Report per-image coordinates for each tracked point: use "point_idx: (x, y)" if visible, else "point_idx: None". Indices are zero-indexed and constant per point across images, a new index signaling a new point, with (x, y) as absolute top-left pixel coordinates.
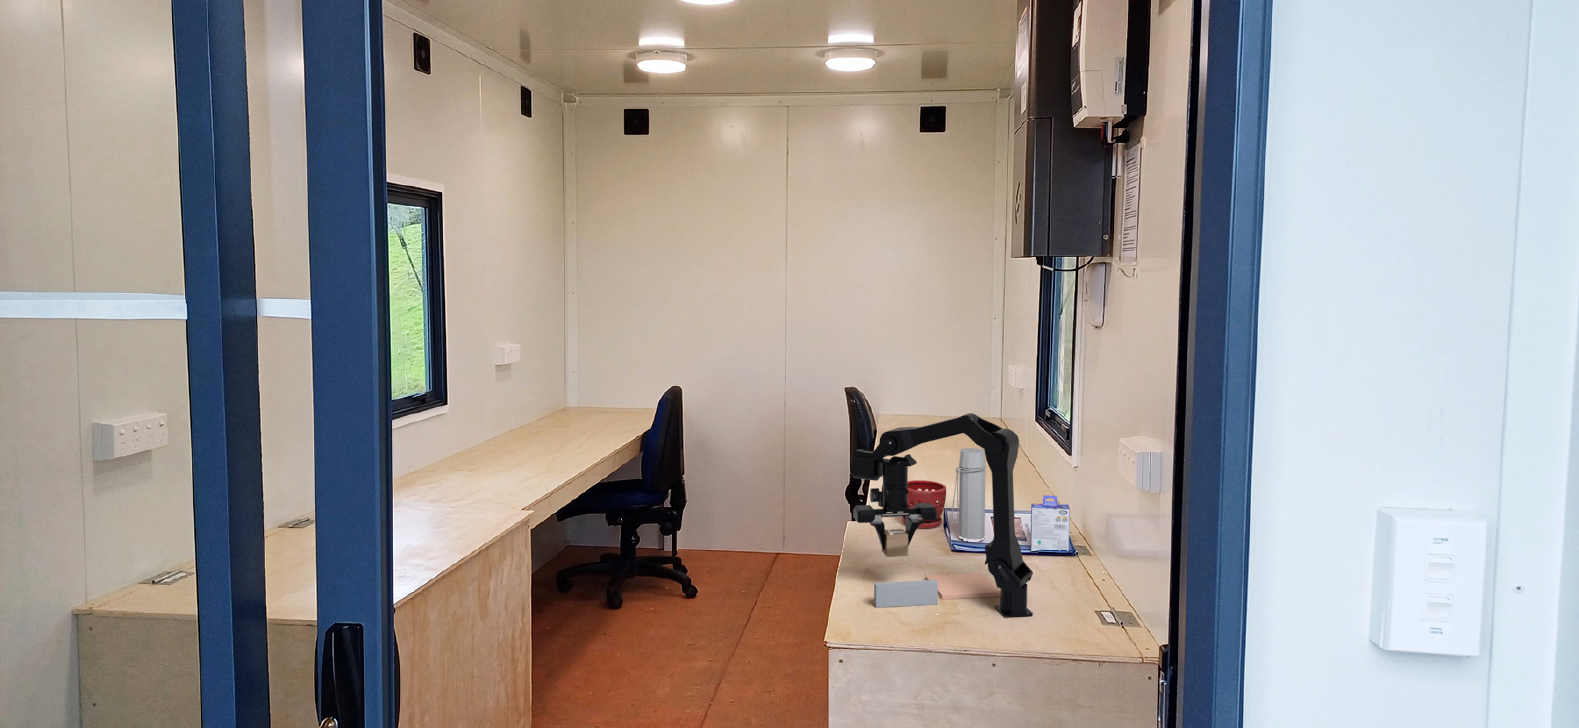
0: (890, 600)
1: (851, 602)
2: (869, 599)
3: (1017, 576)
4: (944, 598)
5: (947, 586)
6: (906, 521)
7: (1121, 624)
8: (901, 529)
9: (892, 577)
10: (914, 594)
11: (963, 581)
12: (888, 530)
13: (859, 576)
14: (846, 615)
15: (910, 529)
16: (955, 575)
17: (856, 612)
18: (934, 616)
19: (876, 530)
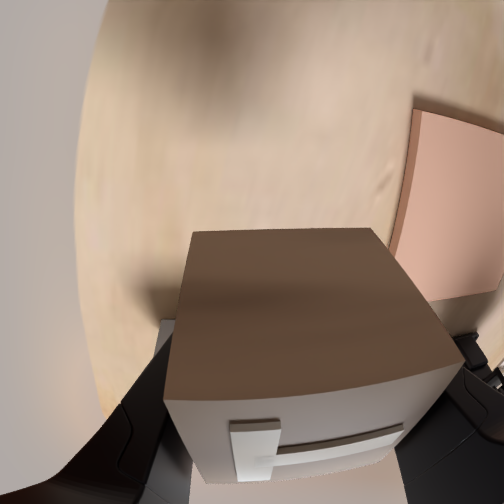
0: None
1: (96, 294)
2: (148, 279)
3: (497, 380)
4: None
5: (432, 240)
6: (492, 468)
7: (500, 370)
8: (441, 378)
9: (292, 40)
10: None
11: (486, 206)
12: (255, 440)
13: (141, 14)
14: (97, 359)
15: (407, 487)
16: (495, 145)
17: (117, 351)
18: None
19: (98, 449)
